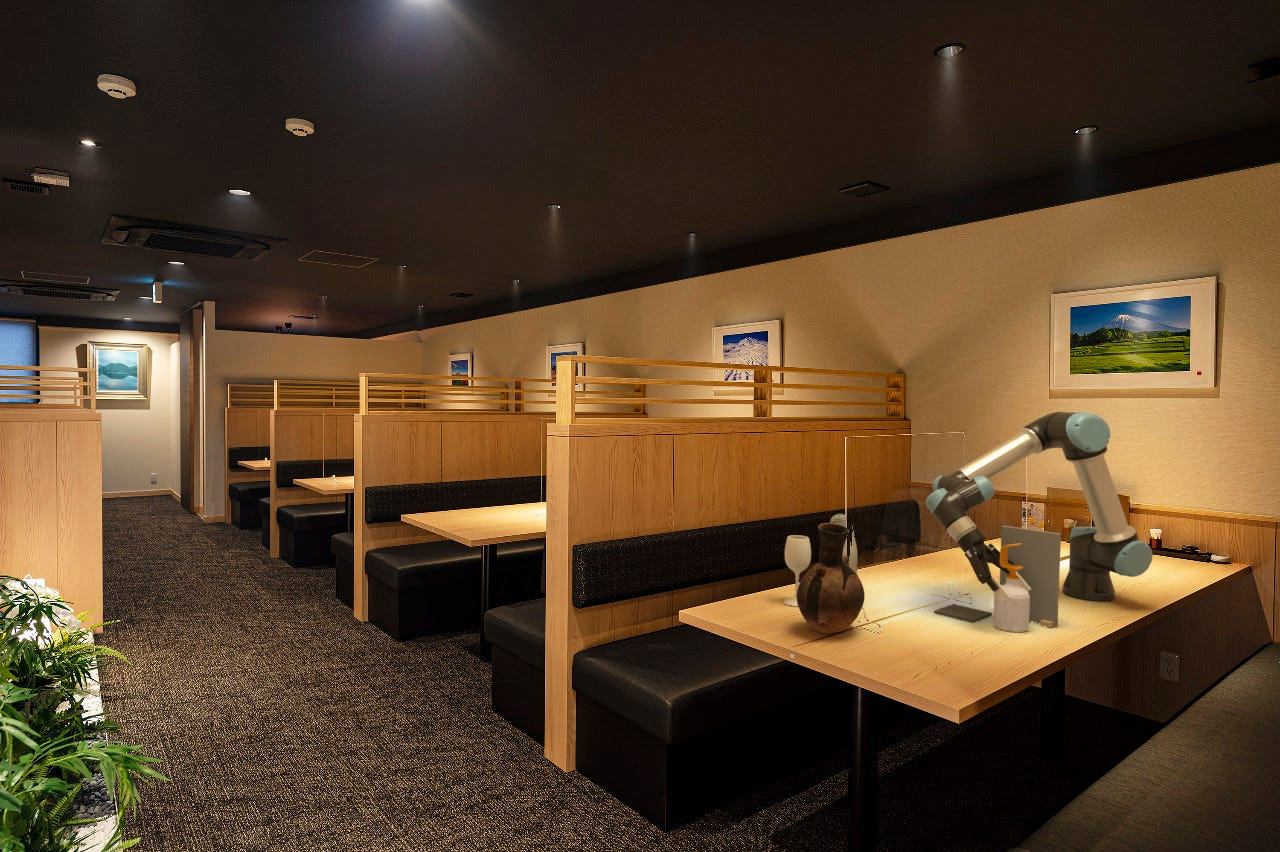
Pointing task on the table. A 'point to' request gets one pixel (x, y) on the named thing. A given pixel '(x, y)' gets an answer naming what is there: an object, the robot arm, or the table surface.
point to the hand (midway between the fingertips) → (1017, 595)
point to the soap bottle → (1012, 599)
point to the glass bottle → (841, 520)
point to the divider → (1036, 569)
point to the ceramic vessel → (831, 585)
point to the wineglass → (797, 559)
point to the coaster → (963, 613)
